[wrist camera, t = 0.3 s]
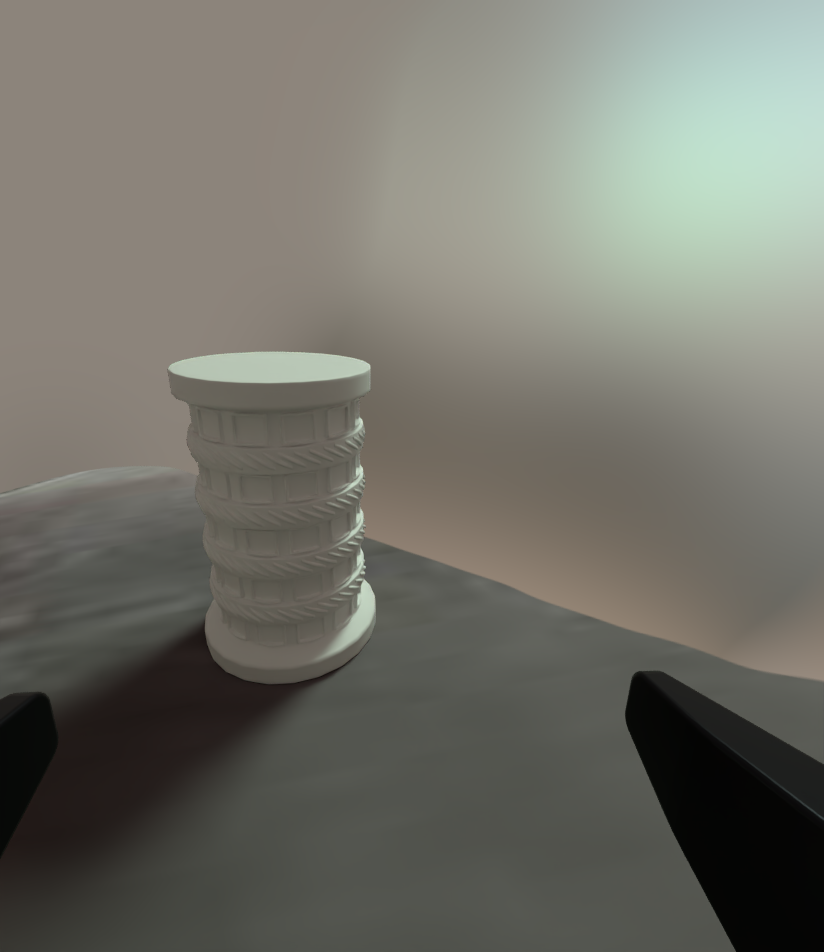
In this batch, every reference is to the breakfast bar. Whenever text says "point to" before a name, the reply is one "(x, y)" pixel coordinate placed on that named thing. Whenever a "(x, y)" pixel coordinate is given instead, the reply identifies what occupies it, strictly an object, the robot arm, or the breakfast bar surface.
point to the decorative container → (280, 509)
